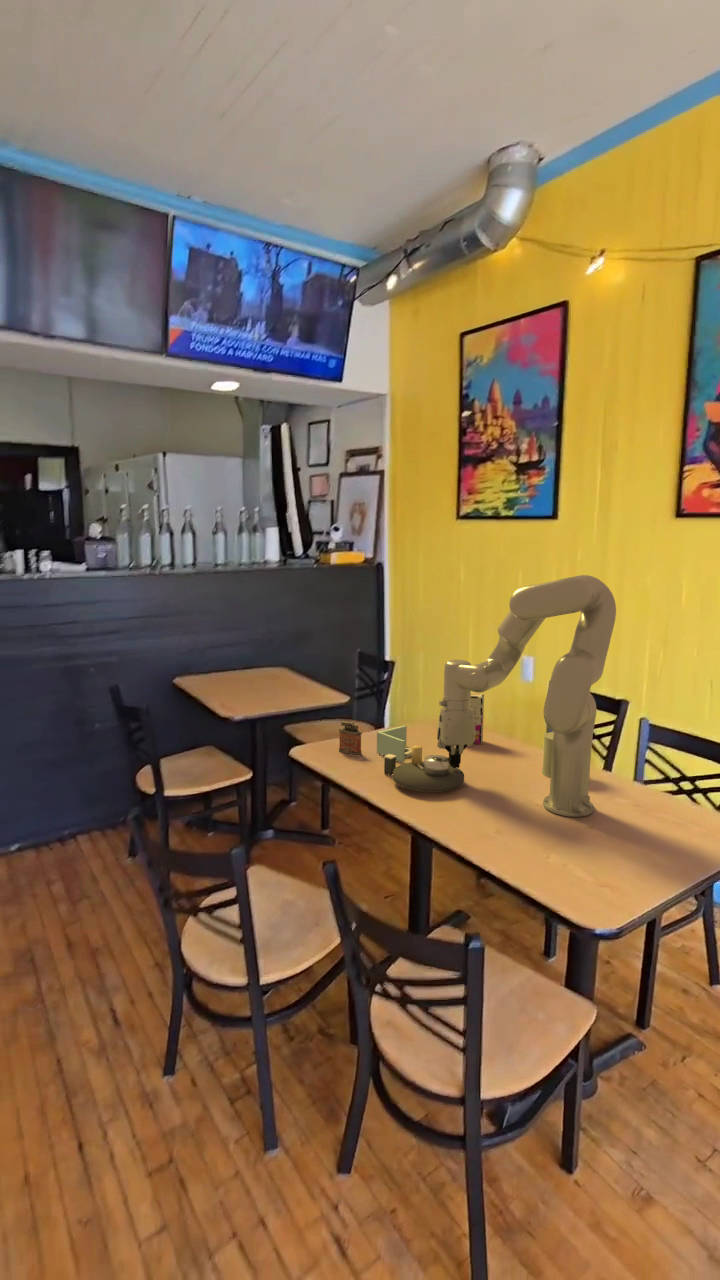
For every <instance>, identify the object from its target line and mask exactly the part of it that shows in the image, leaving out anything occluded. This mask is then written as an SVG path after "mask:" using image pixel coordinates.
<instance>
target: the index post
mask: <svg viewBox="0 0 720 1280" xmlns="http://www.w3.org/2000/svg"><path fill="white" fill-rule="evenodd" d="M383 758H384V759H383V760H384V763H383V766H384V769H383V770H384V772H383V773H385V774H384V775H387V774H389V775H388V776H393V775H392V774H393V770H394V769H395V768H396V767H397V761H396V755H392V754H388V755H386V756H383Z"/></svg>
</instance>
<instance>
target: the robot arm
mask: <svg viewBox="0 0 720 1280" xmlns="http://www.w3.org/2000/svg"><path fill="white" fill-rule="evenodd" d="M508 604H509V611H508V613H507V614H506V616H505V617H504V619H503V620H502V621H501V623H500V624H499V626H498V628H497V633H498V636H499V639H498V643H497V644H496V646H495V647H494V649H493V651H492V652H491V654H490V655H489V656H488V658H487V659H486V660H484V661H482V662H480V663H477V664H471V662H469V661H468V660H464V659H450V660H448V661H446V662H445V663H444V670H443V671H444V672H443V673H444V674H443V676H444V677H443V697H442V700H441V701H438V705H439V707H441V709H440V712H439V716H438V722H437V731H436V732H437V733H436V738H437V743H436V744H437V747H438V749H440V750H441V749H443V750H445V751H447V752H448V758H449V765H450V766H452V767H453V768H458V769H460V765H461V761H462V759H461V758H462V754H463V753H464V751H465V750H466V748H469V747H471V746H473V745H474V744H473V742H474V741H475V719H474V712H473V709H472V708H470V699H471V693H472V692H473V693H477V694H482V693H485V692H487V691H489V690H491V689H493V688H496V687H498V686H500V685H501V684H503V682H504V681H505V679H507V678H508V676H509V675H510V674H511V672H512V671H513V670H514V668H516V665H517V664H518V662H519V661H520V659H521V657H522V655H523V652H524V651H525V648H526V646H527V644H528V643H529V641H530V640H531V639H532V637H533V636H534V634H535V633H536V632H537V630H538V629H539V628H540V627H541V625H542V624H543V623H544V621H545V620H546V619H548V618H551V617H552V618H553V617H558V616H563V615H569V614H576V613H579V612H580V617H579V620H578V622H577V625H576V627H575V631H574V637H573V638H572V639H573V640H572V644H571V646H570V647H571V648H570V649H569V652H567V653H564V655H562V656H561V657H560V658H559V659H558V660H557V661H556V663H555V665H554V668H553V669H552V672H551V677H550V681H549V685H548V689H547V693H546V696H545V701H544V704H543V719H544V723H545V724H546V726H547V728H549V729H550V730H551V731H552V732H554V735H553V747H552V763H551V778H550V781H549V782H550V783H549V795H547V796H545V797H544V798H543V799H542V805H543V807H544V809H546V810H547V811H548V812H551V813H553V814H556V815H558V816H565V817H569V818H570V817H574V818H579V817H587V816H590V815H591V814H593V812H594V811H595V808H596V807H595V805H594V804H593V803H592V801H591V796H590V795H589V792H590V791H589V788H590V774H591V760H592V747H593V746H592V745H593V736H594V735H593V734H594V729H595V722H596V716H597V703H596V700H595V698H594V696H593V694H592V693H591V692H590V691H591V688H592V686H593V685H594V684H596V683H597V682H599V680H601V678H602V676H603V673H604V670H605V669H604V668H605V665H606V660H607V655H608V651H609V648H610V643H611V639H612V635H613V631H614V628H615V623H616V617H617V605H616V600H615V597H614V595H613V593H612V591H611V589H610V588H609V587H608V586H607V585H606V584H605V583H604V582H603V581H602V580H600V579H599V578H597V577H595V576H592V575H588V574H583V575H582V574H581V575H580V574H579V575H576V576H571V577H570V576H569V577H564V578H561V579H556V580H553V581H548V582H542V583H538V584H531V585H526V586H525V585H524V586H521V587H519V588H517V589H516V590H515V591H514V592H513V593H512V594H511V597H510V599H509V603H508Z"/></svg>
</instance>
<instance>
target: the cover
mask: <svg viewBox="0 0 720 1280" xmlns="http://www.w3.org/2000/svg"><path fill="white" fill-rule="evenodd" d="M423 761H424V773H425V774H426V775H428V776H432V777H444V776H447V775H449V765H450V764H449V756H444V755H439V754H430V755H426V756H425V757H424V760H423Z"/></svg>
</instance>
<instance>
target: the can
mask: <svg viewBox="0 0 720 1280" xmlns="http://www.w3.org/2000/svg"><path fill="white" fill-rule="evenodd" d="M553 735H554V731H550V732H547V733H544V736H543V739H544V740H543V756H542V757H543V758H542V759H543V760H542V770H541V774H542V775H543V776H544V777H547V778H550V779H551V763H552V747H553Z"/></svg>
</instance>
